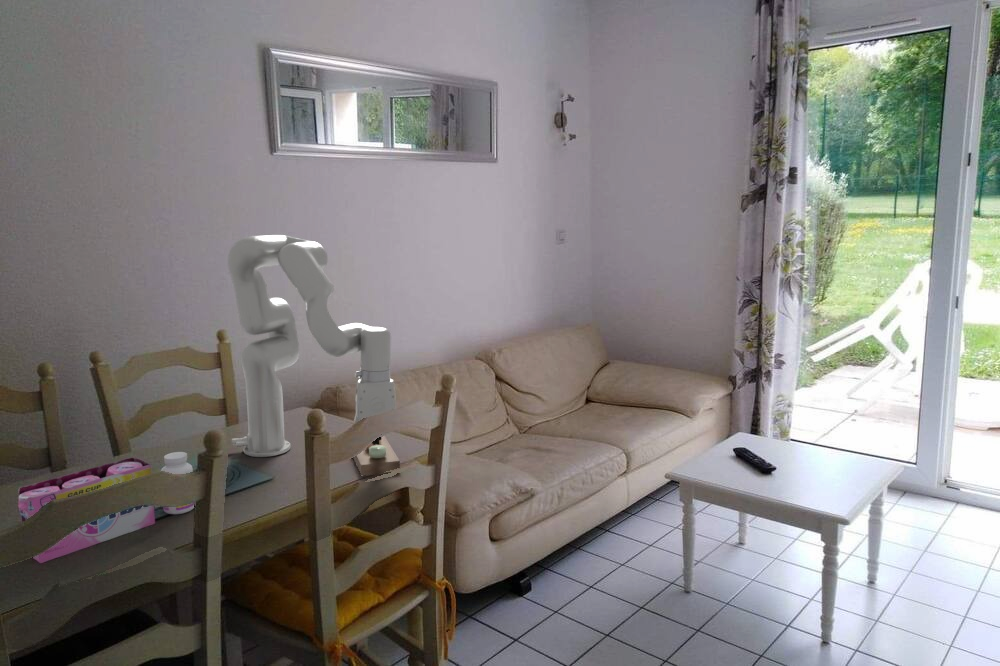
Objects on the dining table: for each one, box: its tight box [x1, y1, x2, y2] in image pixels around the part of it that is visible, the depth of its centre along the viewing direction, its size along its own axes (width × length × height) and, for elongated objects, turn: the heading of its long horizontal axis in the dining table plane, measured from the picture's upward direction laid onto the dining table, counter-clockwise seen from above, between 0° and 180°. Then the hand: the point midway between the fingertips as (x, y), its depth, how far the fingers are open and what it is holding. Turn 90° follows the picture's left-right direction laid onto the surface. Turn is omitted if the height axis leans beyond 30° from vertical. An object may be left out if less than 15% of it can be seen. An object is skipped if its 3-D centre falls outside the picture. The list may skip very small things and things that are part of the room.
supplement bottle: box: [160, 451, 195, 515], centre depth 158 cm, size 7×7×13 cm
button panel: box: [353, 435, 401, 477], centre depth 191 cm, size 10×22×3 cm, turn 20°
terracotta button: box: [366, 440, 381, 449], centre depth 190 cm, size 4×4×2 cm
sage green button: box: [369, 445, 386, 458], centre depth 184 cm, size 4×4×2 cm
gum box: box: [17, 456, 156, 564], centre depth 143 cm, size 24×8×14 cm, turn 144°
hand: (375, 442), depth 184 cm, fingers closed
